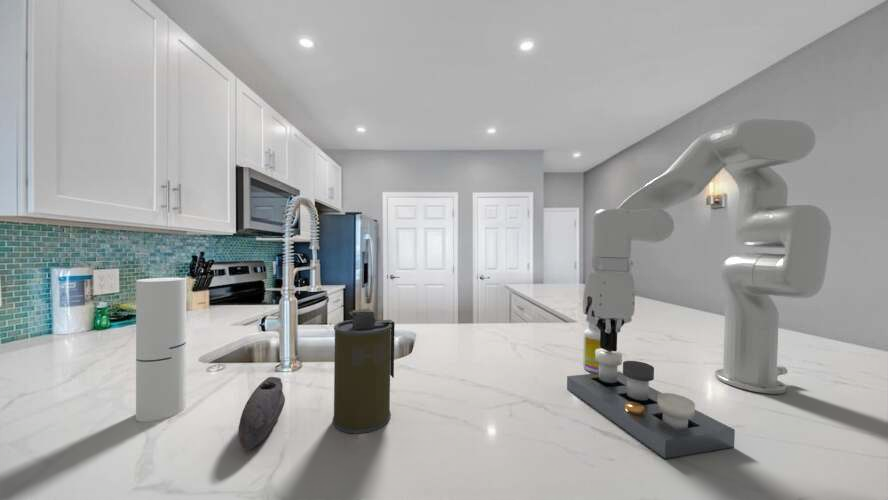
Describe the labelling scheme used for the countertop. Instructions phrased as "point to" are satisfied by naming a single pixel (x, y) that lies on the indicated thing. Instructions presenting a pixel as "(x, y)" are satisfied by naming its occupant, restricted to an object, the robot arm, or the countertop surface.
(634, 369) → the knob middle
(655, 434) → the panel
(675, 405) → the knob
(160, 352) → the cylindrical container
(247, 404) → the perforated stone tool
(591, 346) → the supplement bottle
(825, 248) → the robot arm
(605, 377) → the knob
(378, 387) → the canister
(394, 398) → the countertop surface
